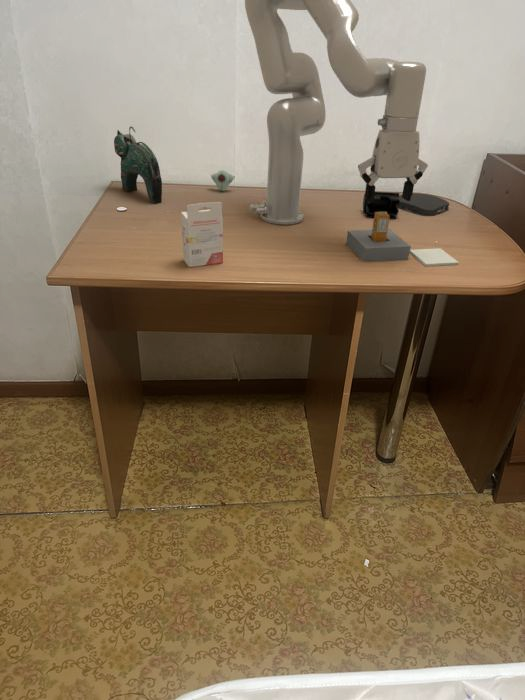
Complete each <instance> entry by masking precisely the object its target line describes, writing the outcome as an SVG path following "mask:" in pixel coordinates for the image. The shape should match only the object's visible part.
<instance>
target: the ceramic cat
mask: <svg viewBox="0 0 525 700" xmlns="http://www.w3.org/2000/svg"><path fill="white" fill-rule="evenodd" d="M131 130H132V131H133V132H134V133H136V129H135V128H134V127H133V126H129V129H128V133H127V134H126V133H125V134H123V133H122V132H121V131H120V130H119V129H117V132H116V134H117V135H115V137H114V139H113V146H114V147H113V148H114V152H115V154H116V155H117V156H119V157H120V179H121V188H122V191H123V192H126V193H133V192H137V191H138V186H137V185H138V184H137V183H138V181H137V180H138V177H139V176H140V177H141V178H142V181H143V182H144V185H145V188H146V193H147V198H148V202H149V203H150V204H154V205H156V204H161V203H162V200H163V198H162V195H163V180H162V177H161V170H160V166H159V162H158V159H157V156H156V155H155V153H154V151H153V150H152V148H150V147H149V146H148V145H147V144H146V143H145V142H143V141H138V142H137V141H136V139H135V137H134V135H132V134H131Z"/></svg>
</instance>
